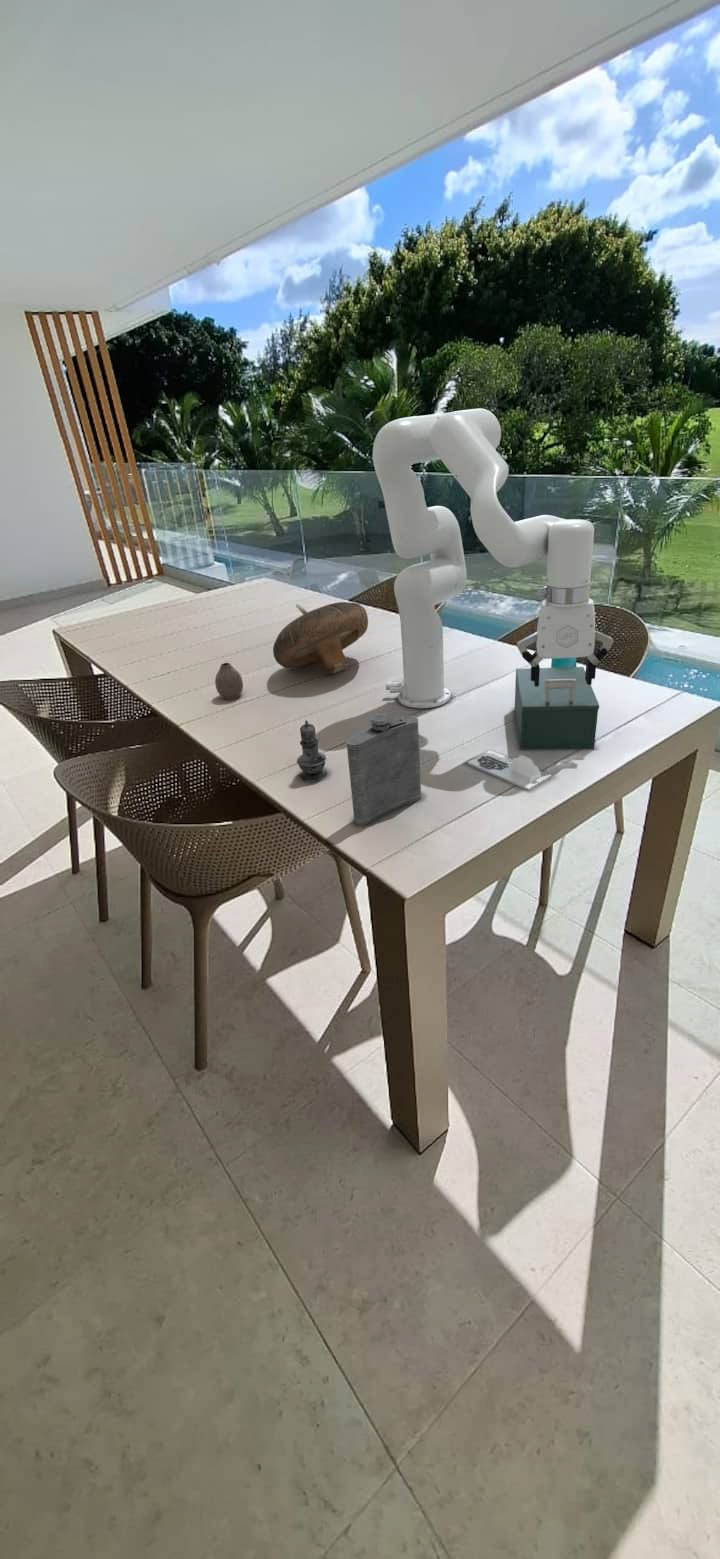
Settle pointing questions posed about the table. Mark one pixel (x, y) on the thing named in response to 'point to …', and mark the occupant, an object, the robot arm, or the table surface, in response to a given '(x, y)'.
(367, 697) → the table surface
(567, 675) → the box lid
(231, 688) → the vase
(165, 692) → the table surface
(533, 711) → the green lidded box
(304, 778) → the salt shaker
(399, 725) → the flask
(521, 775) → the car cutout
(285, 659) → the mushroom
